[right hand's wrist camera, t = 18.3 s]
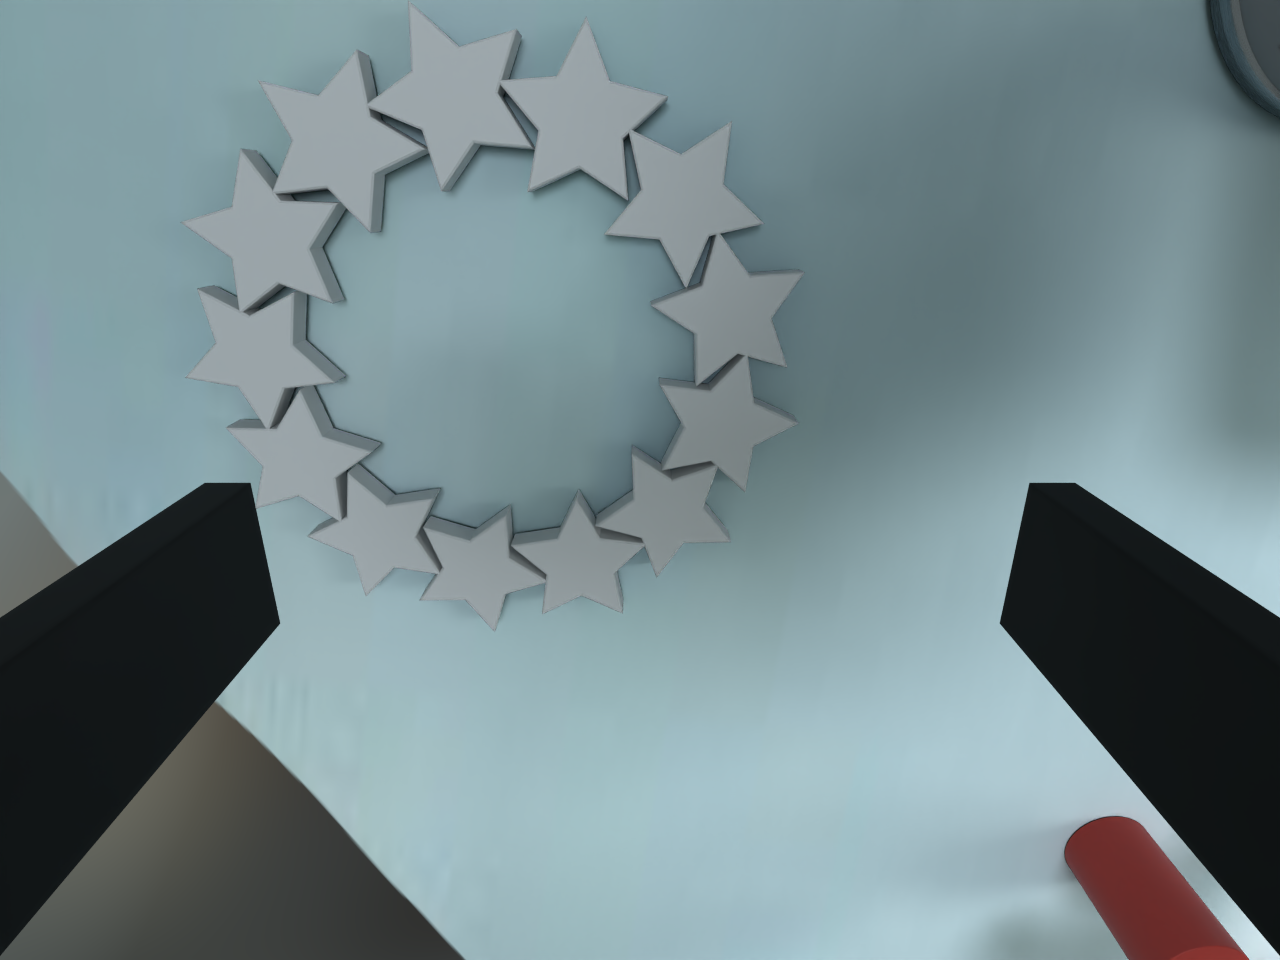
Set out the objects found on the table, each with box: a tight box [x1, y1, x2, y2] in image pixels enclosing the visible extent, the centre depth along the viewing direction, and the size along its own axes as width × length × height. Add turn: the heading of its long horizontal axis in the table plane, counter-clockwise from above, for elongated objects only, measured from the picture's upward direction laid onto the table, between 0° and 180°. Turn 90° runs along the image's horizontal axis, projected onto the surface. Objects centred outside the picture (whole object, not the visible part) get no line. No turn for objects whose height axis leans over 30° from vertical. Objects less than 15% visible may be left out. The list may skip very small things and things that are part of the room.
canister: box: [1065, 817, 1249, 960], centre depth 44 cm, size 6×6×9 cm
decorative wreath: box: [181, 1, 805, 631], centre depth 35 cm, size 30×2×30 cm
